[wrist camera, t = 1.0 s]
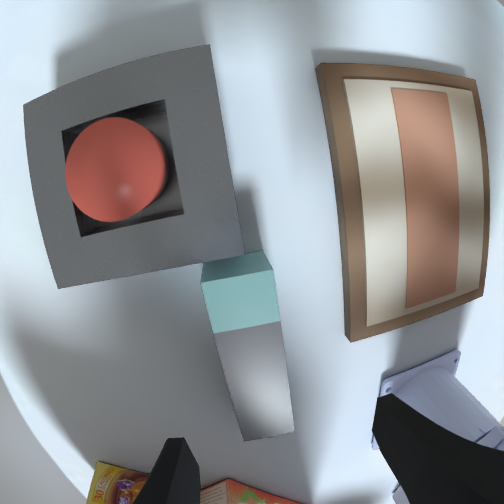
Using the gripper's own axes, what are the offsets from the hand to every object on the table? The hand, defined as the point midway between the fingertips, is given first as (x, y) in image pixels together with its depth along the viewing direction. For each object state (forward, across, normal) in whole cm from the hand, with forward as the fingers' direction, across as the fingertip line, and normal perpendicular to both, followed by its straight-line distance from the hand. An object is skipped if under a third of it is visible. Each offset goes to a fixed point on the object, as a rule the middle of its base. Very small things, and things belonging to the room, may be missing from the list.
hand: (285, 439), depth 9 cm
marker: (+8, +1, +1) cm, 9 cm away
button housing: (+8, +5, -10) cm, 14 cm away
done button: (+6, +5, -10) cm, 13 cm away
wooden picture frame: (+8, -11, -6) cm, 15 cm away
